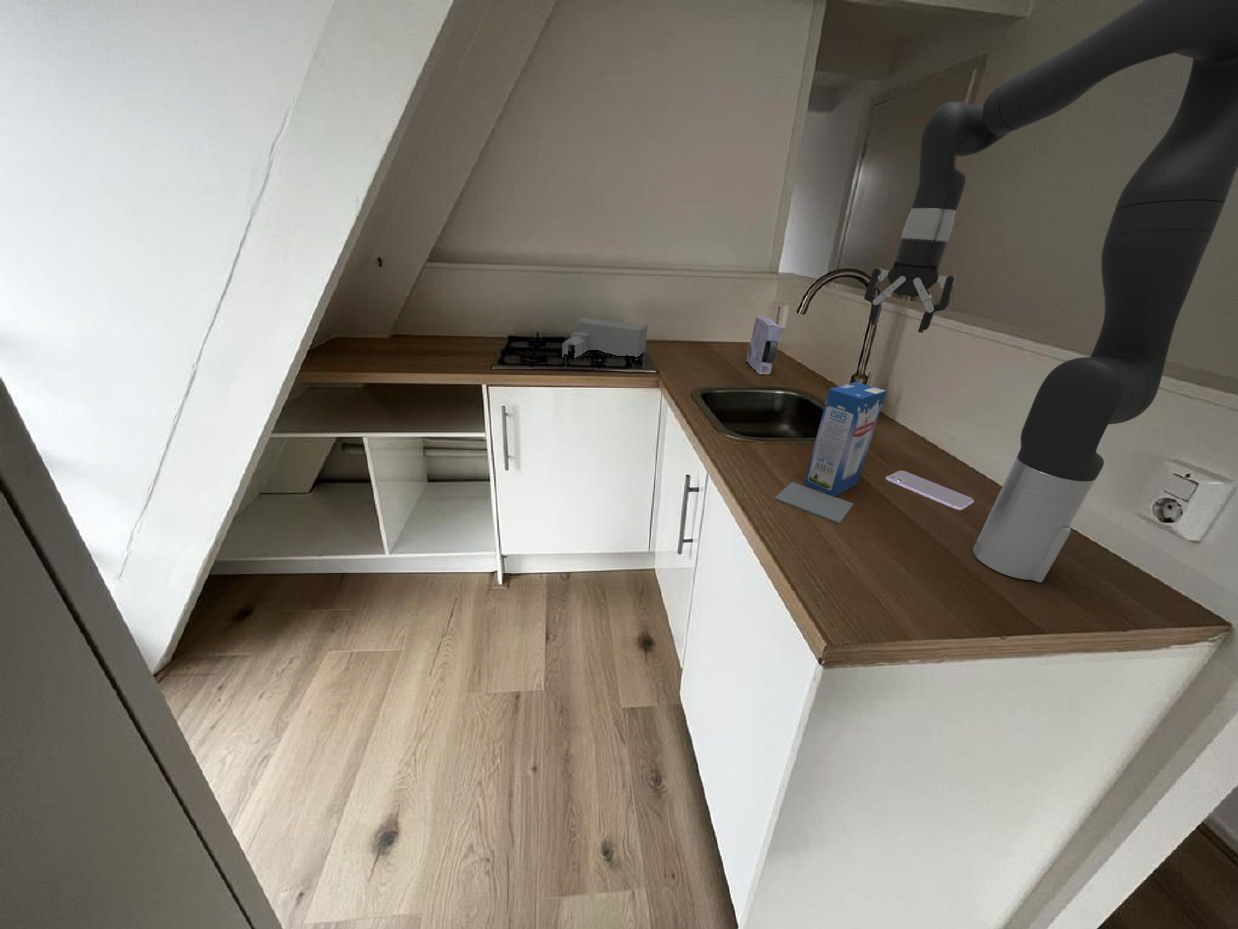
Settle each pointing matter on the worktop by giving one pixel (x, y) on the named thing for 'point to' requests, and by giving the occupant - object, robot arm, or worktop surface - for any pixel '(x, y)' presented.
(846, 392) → the milk carton
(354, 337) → the worktop surface
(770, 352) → the cake pan box
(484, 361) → the worktop surface
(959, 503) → the mobile phone
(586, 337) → the grey toy box truck
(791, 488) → the mat
